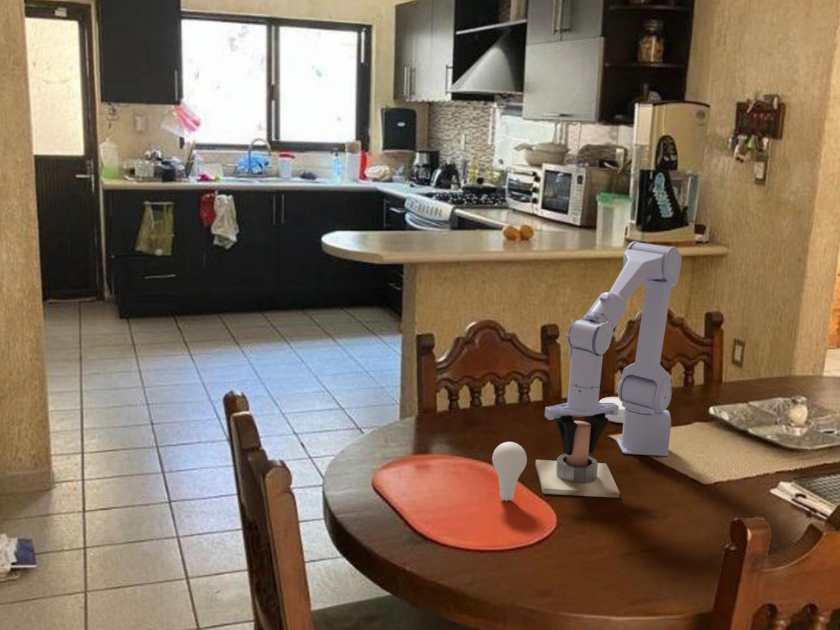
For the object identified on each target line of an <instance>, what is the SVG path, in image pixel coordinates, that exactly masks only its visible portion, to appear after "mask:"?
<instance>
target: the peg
mask: <svg viewBox="0 0 840 630" xmlns="http://www.w3.org/2000/svg"><path fill="white" fill-rule="evenodd" d="M574 422H575V423H576V424H578V426H577V428H576V431H575V435H574V440H573V450H572V454H571V455H567V461H566V463H567V464H569V465H573V466H582V467H584V466H588V456H589V454H590V453H589V443H590V432H591V424H589V423H587V422H585V421H582V420H574Z"/></svg>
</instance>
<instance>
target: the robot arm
mask: <svg viewBox="0 0 840 630" xmlns="http://www.w3.org/2000/svg"><path fill="white" fill-rule="evenodd" d="M682 259H683V258H682V255H681V254H680V251H679V249H678V248H677V247H676V246H668V245H667V246H666V245H658V244H652V243H646V242H645V243H644V242H639V241H636V240H635V241H631V242H630V243H629V244H628V245H627V247H626V248H625V251H624V253H623V259H622V267H623V268H622V269H621V271H620V272H619V274H618V276H617V278H616V280H615V281H614V282H613V284H612V286H611V288H610V290H609V292H608V291H607V292H602V293H601V294H599V296H598V297H597V298H596V300H594V303H593V304H592V305H591V306H590V308H589V310H588V311H587V312H586V313H585V315H584V316H583V318H580V319H578V320H575V321H574V322H572V323H571V325H570V327H569V328H568V332H567V334H566V344H567V347H568V357H569V359H570V366H569V367H570V369H569V378H568V379H569V381H568V389H567V391H568V392H567V393H568V394H567V402H564V403H561V404H555V405H552V406H545V407H544V408H545V409H544V417H545V418H546V419H547V420H549V421H551V420H552V421H553V420H554V421H555V423H556V427H557V428H558V431H559V434H560V438H561V443H562V449H563V453H564V454H567V455H571V454H572V450H573V440H574V435H575V431H576V428H577V426H578V424H576V423H575V422H574V421H575V419H574V418H576V417H577V418H578V417H584V422H587V423H589V424H591V432H590V443H589V454H593V453H594V451H595V448H596V445H597V443H598V441H599V438H600V436H601V434H602V433H603V432H604V430H605V428H606V427H607V426H608V425H609V422H610V421H609V419H608V418H606V417H605V415H610V414H612V415H618V409H619V406H618V405H617V404H615V403H602V402H599V401H600V391H601V390H600V389H601V379H602V368H603V359H604V357H603V356H604V354H605V353H606V352H607V350H609V347H610V344H611V343H612V342H611V341H612V338H613V336H614V329H615V327H616V326H617V325H618V323H619V321H620V320H621V319H622V317H623V316H624V315H625V313H626V311H627V305H626V302H627V301H628V300H629V298H630V297H631V296H632V295H633V293H634V292H635V291H636V290H637V289H638V288H639V287H640V286H641V284H642V285H643V287H644V288H645V292H644V296H643V297H644V298H643V299H644V300H643V305H642V306H643V307H642V311H641V312H642V313H641V320H640V326H639V332H638V333H639V334H638V340H637V346H636V353H635V359H634V360H635V361H634V362H633V363H630V364H629V365H627V366H626V367H624V368H623V371H622V374H621V378H620V380H619V382H618V384H617V385H618V386H617V397H619V400H620V401H621V402H622V406H623V407H625V412H624V422H623V423H622V431H621V432H622V433H621V434H622V435H621V438H616V440H615V441H616V443H617V445H618V446H619V448H620V450H621V452H622V453H623V454H625V455H637V456H638V455H640V456H641V455H642V456H659V457H669V455H670V454H669V445H670V440H671V439H670V437H671V430H672V417H671V416H672V415H671V414H670V411H669V410H668V409H667V408H668V407H669V405H670V402H671V400H672V394H673V393H672V376H671V374H670V373H669V372H668V371H667V370H665V368H664V367H663V366H662V365H661V358H662V352H663V346H664V340H665V339H664V338H665V333H666V326H667V319H668V312H669V304H670V298H671V292H672V288H673V287H677V286H678V283H679V279H680V273H681V266H682Z"/></svg>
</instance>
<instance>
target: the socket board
mask: <svg viewBox="0 0 840 630" xmlns="http://www.w3.org/2000/svg"><path fill="white" fill-rule="evenodd" d="M566 461H567V454H566V453H563V454H560V455H558V457H557V458H556V460H548V459H535V465H534V466H535V468H536V472H537V475H538V479H539V483H540V487H541V490H542V494H545V495H547V494H548V495H564V496H581V497H582V496H583V497H599V498H600V497H601V498H602V497H603V498H615V499H617V498H620V495H621V493H620V491H619V488H618V486H617V484H616V482H615V479H614V477H613V475H612V473H611V471H610V469H609V466H608V465H607V463H604V462H603V463H601V462H598V461H597V459H595V458H594V457H592V456H590V455H588V466H584V467H582V466H573V465H569V464H567V463H566Z"/></svg>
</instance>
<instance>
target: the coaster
mask: <svg viewBox="0 0 840 630" xmlns="http://www.w3.org/2000/svg"><path fill="white" fill-rule="evenodd" d="M598 402H602V403H615V404H617V405H618V406H619V409H618V415H612V414H610V415H605V417H606V418H608V419H609V421H608V422H613V423H618V424H619V423H620V424H623V422H624V412H625V407H623V406H622V402H621V401H620V400H619V397H618V396H609V397H608V396H607V397H604V398H601V399H599V401H598Z"/></svg>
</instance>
